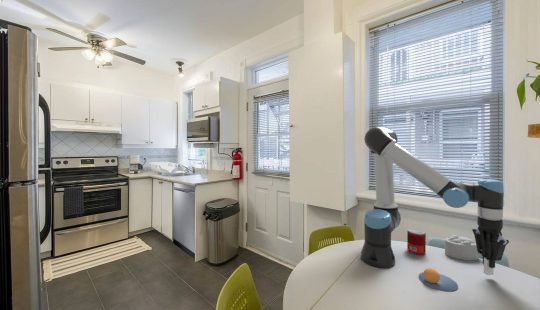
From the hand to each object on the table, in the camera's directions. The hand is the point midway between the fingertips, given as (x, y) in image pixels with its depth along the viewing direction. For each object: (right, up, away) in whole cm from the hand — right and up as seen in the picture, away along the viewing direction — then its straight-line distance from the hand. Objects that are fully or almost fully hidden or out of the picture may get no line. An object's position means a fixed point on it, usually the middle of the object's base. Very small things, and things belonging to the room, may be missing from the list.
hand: (488, 273), depth 95 cm
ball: (-25, 0, -2) cm, 25 cm away
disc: (-22, -3, -1) cm, 22 cm away
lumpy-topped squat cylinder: (+5, -1, +20) cm, 21 cm away
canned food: (-14, -1, +24) cm, 28 cm away
